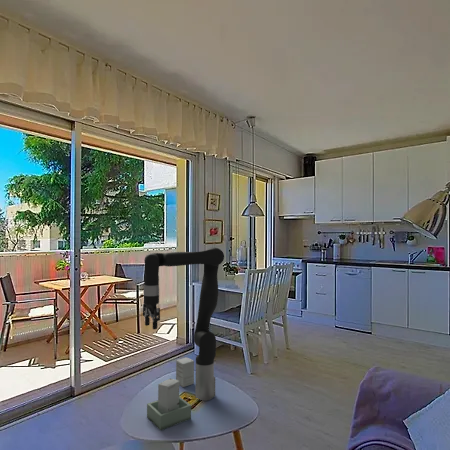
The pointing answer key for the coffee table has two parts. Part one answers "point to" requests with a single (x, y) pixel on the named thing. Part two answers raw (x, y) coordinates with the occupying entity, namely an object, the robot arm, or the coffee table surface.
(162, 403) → the skincare box
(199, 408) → the coffee table surface
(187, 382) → the supplement box
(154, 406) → the box
